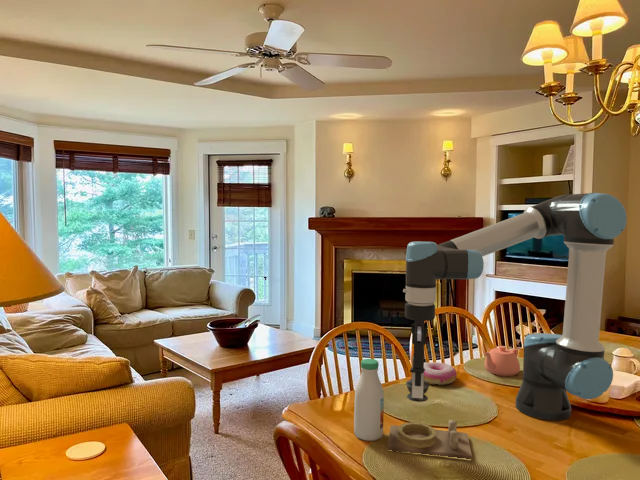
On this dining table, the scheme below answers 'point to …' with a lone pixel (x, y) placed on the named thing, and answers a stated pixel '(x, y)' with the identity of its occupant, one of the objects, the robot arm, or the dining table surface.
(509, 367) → the teapot
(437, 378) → the donut
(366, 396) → the milk bottle
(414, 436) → the board
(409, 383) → the dark grey tapered tower
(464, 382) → the dining table surface
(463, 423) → the dining table surface
